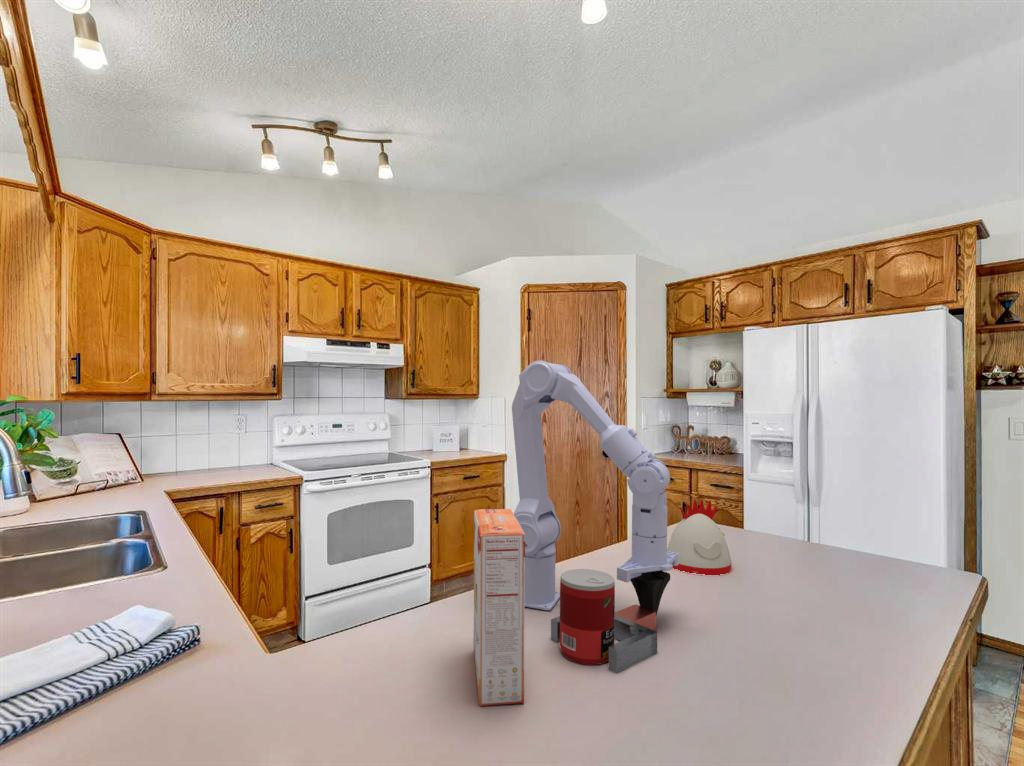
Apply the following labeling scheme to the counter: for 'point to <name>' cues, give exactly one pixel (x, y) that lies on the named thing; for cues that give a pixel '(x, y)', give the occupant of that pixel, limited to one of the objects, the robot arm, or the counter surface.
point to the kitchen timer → (700, 542)
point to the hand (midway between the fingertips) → (648, 616)
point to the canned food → (587, 615)
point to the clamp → (626, 636)
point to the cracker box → (499, 606)
